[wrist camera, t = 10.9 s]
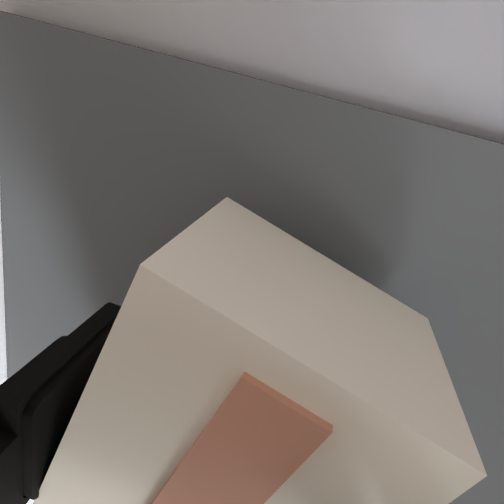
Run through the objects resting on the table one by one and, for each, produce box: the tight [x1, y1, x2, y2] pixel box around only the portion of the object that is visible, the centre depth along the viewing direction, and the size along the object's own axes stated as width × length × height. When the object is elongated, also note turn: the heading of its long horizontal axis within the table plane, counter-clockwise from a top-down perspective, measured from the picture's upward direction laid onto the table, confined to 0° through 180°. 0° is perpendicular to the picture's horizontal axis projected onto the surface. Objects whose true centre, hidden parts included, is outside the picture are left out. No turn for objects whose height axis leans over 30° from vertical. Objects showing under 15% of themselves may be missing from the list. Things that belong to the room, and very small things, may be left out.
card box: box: [33, 197, 487, 504], centre depth 9 cm, size 9×6×5 cm, turn 151°
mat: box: [0, 11, 504, 504], centre depth 13 cm, size 20×16×1 cm
